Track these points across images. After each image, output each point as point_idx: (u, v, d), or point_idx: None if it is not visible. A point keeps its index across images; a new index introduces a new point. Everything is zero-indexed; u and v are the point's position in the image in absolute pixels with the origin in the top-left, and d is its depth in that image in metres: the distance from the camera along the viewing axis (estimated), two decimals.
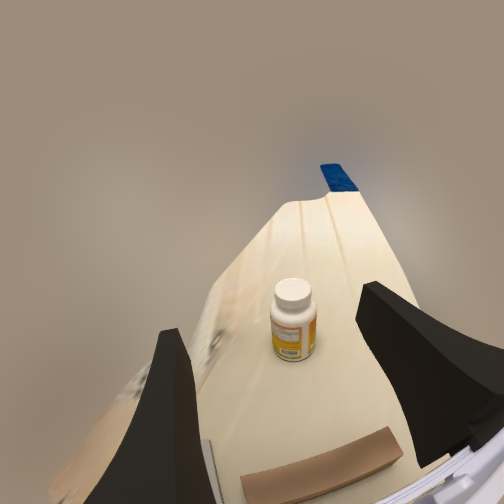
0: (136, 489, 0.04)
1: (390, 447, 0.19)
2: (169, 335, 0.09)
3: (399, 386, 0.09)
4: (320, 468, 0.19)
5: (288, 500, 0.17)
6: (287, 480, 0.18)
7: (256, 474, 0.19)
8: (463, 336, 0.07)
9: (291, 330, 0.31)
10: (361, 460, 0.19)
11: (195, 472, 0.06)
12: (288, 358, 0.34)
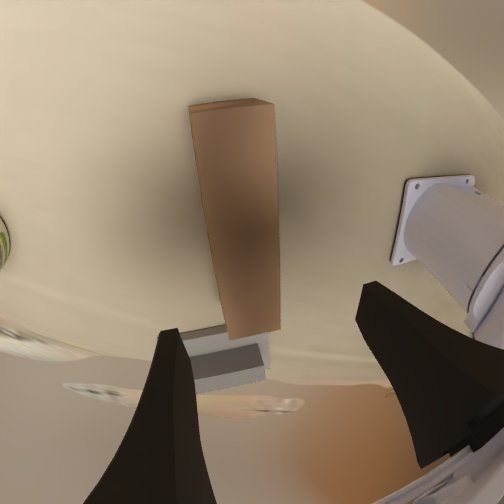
0: (136, 489, 0.04)
1: (245, 125, 0.11)
2: (169, 335, 0.09)
3: (399, 386, 0.09)
4: (239, 254, 0.15)
5: (278, 293, 0.17)
6: (247, 295, 0.17)
7: (228, 326, 0.18)
8: (463, 336, 0.07)
9: None
10: (249, 187, 0.13)
11: (195, 472, 0.06)
12: (7, 251, 0.14)
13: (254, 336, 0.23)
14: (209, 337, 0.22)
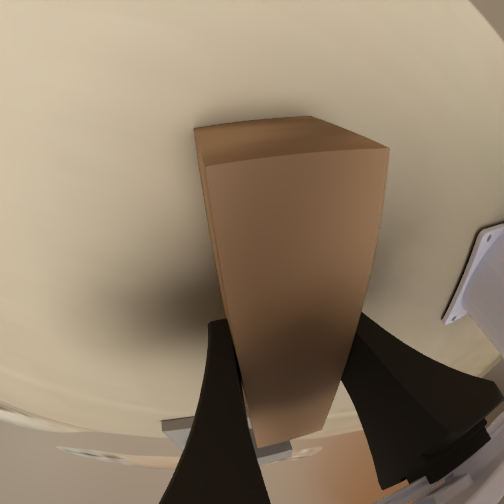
0: (218, 483, 0.04)
1: (331, 193, 0.05)
2: (220, 326, 0.09)
3: (359, 404, 0.09)
4: (285, 385, 0.09)
5: None
6: (289, 415, 0.11)
7: (258, 439, 0.12)
8: (425, 358, 0.07)
9: None
10: (319, 305, 0.07)
11: None
12: None
13: None
14: None
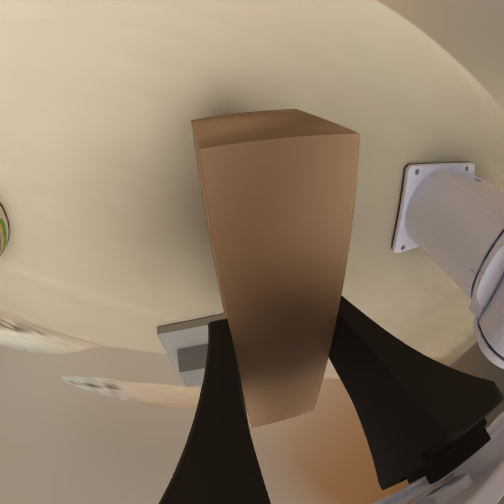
0: (218, 483, 0.04)
1: (307, 172, 0.06)
2: (220, 325, 0.09)
3: (359, 404, 0.09)
4: (275, 357, 0.10)
5: None
6: (280, 392, 0.11)
7: (252, 418, 0.13)
8: (425, 358, 0.07)
9: None
10: (303, 276, 0.08)
11: None
12: (6, 237, 0.14)
13: None
14: None
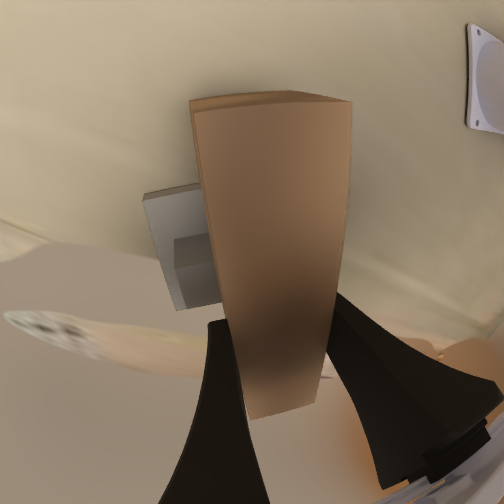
0: (217, 483, 0.04)
1: (301, 138, 0.06)
2: (220, 325, 0.09)
3: (359, 404, 0.09)
4: (273, 339, 0.10)
5: (319, 372, 0.12)
6: (279, 380, 0.11)
7: (250, 409, 0.12)
8: (425, 358, 0.07)
9: None
10: (299, 249, 0.08)
11: None
12: None
13: None
14: None
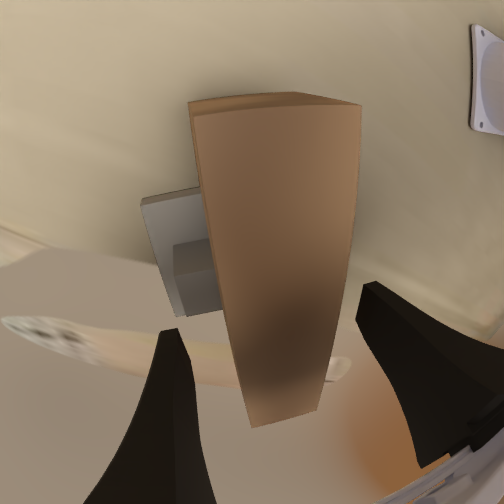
0: (136, 489, 0.04)
1: (308, 144, 0.06)
2: (169, 335, 0.09)
3: (399, 386, 0.09)
4: (276, 350, 0.09)
5: (322, 380, 0.12)
6: (281, 389, 0.11)
7: (252, 417, 0.12)
8: (463, 336, 0.07)
9: None
10: (304, 259, 0.07)
11: (195, 472, 0.06)
12: None
13: None
14: None
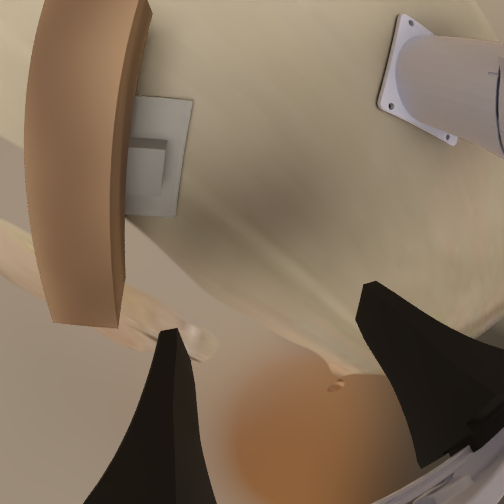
0: (136, 489, 0.04)
1: (97, 10, 0.05)
2: (169, 335, 0.09)
3: (399, 386, 0.09)
4: (55, 193, 0.08)
5: (110, 273, 0.11)
6: (67, 261, 0.10)
7: (49, 301, 0.11)
8: (463, 336, 0.07)
9: None
10: (79, 93, 0.07)
11: (195, 472, 0.06)
12: None
13: (167, 122, 0.14)
14: None
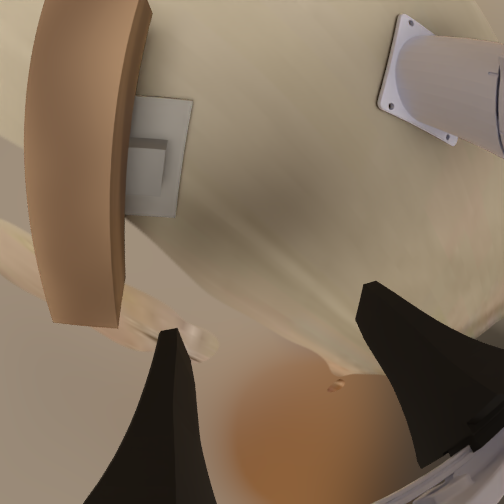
0: (136, 489, 0.04)
1: (97, 10, 0.05)
2: (169, 335, 0.09)
3: (399, 386, 0.09)
4: (55, 193, 0.08)
5: (110, 273, 0.11)
6: (67, 261, 0.10)
7: (49, 301, 0.11)
8: (463, 336, 0.07)
9: None
10: (79, 93, 0.07)
11: (195, 472, 0.06)
12: None
13: (167, 122, 0.14)
14: None
